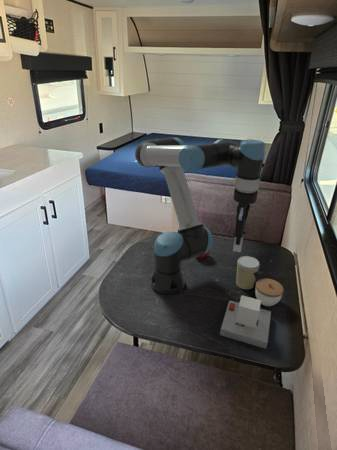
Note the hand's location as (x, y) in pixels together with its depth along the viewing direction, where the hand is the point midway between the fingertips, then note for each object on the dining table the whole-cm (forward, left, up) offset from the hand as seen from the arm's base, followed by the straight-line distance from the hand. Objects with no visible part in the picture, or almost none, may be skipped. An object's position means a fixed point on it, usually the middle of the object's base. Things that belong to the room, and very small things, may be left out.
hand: (236, 250), depth 108 cm
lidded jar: (+14, +9, -27) cm, 31 cm away
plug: (+8, -8, -26) cm, 29 cm away
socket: (+8, -8, -26) cm, 29 cm away
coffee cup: (+4, +17, -27) cm, 32 cm away
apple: (-20, +31, -27) cm, 45 cm away
